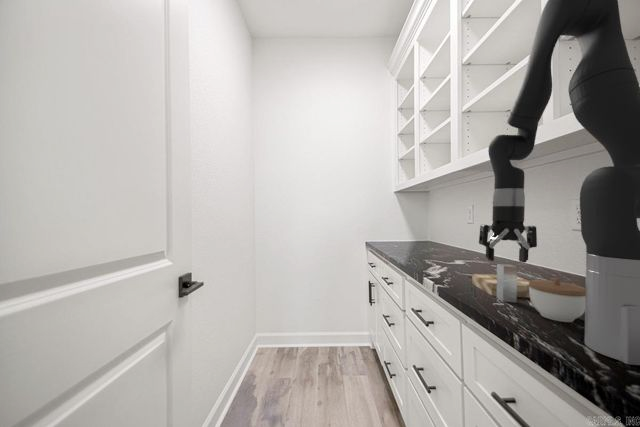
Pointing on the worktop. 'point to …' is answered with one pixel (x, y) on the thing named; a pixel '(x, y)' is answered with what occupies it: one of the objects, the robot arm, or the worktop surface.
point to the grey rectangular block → (507, 282)
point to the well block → (490, 284)
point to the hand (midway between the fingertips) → (506, 261)
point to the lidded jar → (557, 299)
